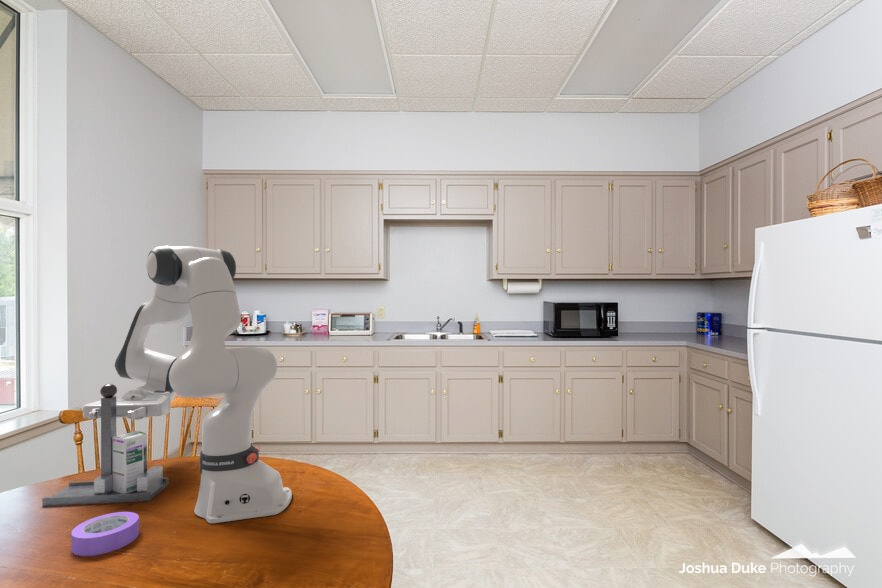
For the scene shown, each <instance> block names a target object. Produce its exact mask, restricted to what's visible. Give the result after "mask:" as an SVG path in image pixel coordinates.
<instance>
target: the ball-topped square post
mask: <svg viewBox="0 0 882 588" xmlns="http://www.w3.org/2000/svg"><path fill="white" fill-rule="evenodd" d="M117 392H118V388H117V386H116V385H114V384H113V383H107V384H105V385H102V387H101V388H100V391H99V393H100V395H101V398H100V401H101V418H100V475H99V476H97V477H96V478H95V479H93V481H94V495H106V494H109V493H110V492H112V491H113V468H112V437H114V436H117V417H116V399H117V395H116V394H117Z"/></svg>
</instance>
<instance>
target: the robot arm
mask: <svg viewBox="0 0 882 588" xmlns="http://www.w3.org/2000/svg"><path fill="white" fill-rule="evenodd" d="M145 265H146V267H145V268H146V271H147V276H148V278H149V279H150V280H151V281H152V282H153V283H155V284H154V289H153V294H152V297H151V298H150V300H149V301H145V302H143V303H142V304H141V305H140V306H139V307H138V308H137V311H136V312H135V315H134V317H133V319H132V321H131V324H130V327H129V328H128V329H129V330H128V332H127V335H126V337H125V340H124V343H123V345H122V348H121V350H120V351H119V353H118V355H117V357H116V359H115V362H114V368H115V370H116V372H117V375H118V376H119V377H120V378H124V379H130V380H136V381H139V382H143V383H145V384H144V385H142V386H138V387H135V388H134V389H131V390H128V391H126V393H124V394H123V396H122V397H121V399H119V398H118V399H117V398H116V418H127V419H130V420H133V421H137V420H143V419H145V418H146V419H147V418H149V417H161V416H164V415H168V414H170V413H171V407H172V406H171V404H172V402H173V401H174V399H175V398H176V396H179V397H180V398H190V399H191V398H192V399H193V398H194V399H197V398H198V399H200V398H202V399H203V398H209V397H215V396H219V395H223V396H222V398H221V399H220V402H219V403H218V405H217V406H216V407H214V408H213V409H212V410H210V411H209V412H208V413H207V414H206V415H205V416H204V418H203V421H202V425H201V450H200V453H199V461H198V462H199V463H198V464H199V474H200V483H199V484H200V485H199V490H198V494H197V495H198V496H197V499H196V500H197V501H196V503H195V507H194V512H193V513H194V514H195V515H197V516H198V517H200V518H202V519H205V520H206V522H207V523H209V524H218V523H219V524H220V523H224V522H225V523H226V522H231V521H232V522H233V521H238V520H239V521H240V520H246V519H252V518H262V517H268V516H275V515H278V514H280V513H282V512H283V511H284V510H285V509H286V508H287V507H288V506H289V504H290V503H291V501H292V498H293V494H292V493H293V492H292V489H291V488H289V487H287V486H284V485H283V480H282V476H281V474H280V472H279V471H278V470H276V469H274V468H273V467H272V466H270V465H268V464H266V463H265V462H263V461H262V460H260V459H259V458H260V448H261V447H260V446H258V447H255V446H254V445H252V443H251V439H252V421H253V420H252V419H253V415H254V413H253V412H254V409H255V407H256V404H257V401H258V400H259V397H260V396H261V394H262V393H263V391H264V390H265V388H266V387H268V385H269V384H270V383H271V382H272V381H273V380H274V378H275V376H276V374H277V372H278V371H277V370H278V364H277V363H278V362H277V359H276V357H275V355H274V353H273V352H272V351H271V350H270V349H268V348H263V347H258V346H257V347H255V346H247V347H246V346H245V347H233V348H226V344H225V343H226V342H225V340H226V338H227V337H228V336H230V335H232V334H233V333H234V332H235V331H237V329H238V328H239V327H240V325H241V322H242V317H241V312H240V307H239V306H240V305H239V301H238V297H237V293H236V287H235V283H234V281H233V280H234V278H235V276H236V273H237V265H236V261H235V258H234V256H233V255H232V254H231V253H230V252H229V251H227V250H223V249H219V248H216V249H212V248H207V247H206V248H205V247H197V246H194V245H193V246H192V245H185V246H184V245H178V246H170V245H160V246H155V247H154V248H152V250H150V251H149V252H148V256H147V259H146V263H145ZM190 316H191V323H192V333H191V336H190V337H191V338H190V340H189V341H190V342H189V344H188V345H187V347H186V349H185V350H184V352H183V353H182V354H180V356H178V357H177V356H173V355H170V354H167V353H162V352H159V351H156V350H152V349H149V348H147V346H145V341H146V338H147V336H148V334H149V331H150V328H151V327H152V326H154V325H170V324H176V323H180V322H182V321H184V320H186V319H187V318H189V317H190ZM82 417H83V418H84V419H88V420H96V419H101V400H96V401H93V402H89V403H87V404H84V405H83V406H82Z"/></svg>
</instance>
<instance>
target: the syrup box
mask: <svg viewBox="0 0 882 588" xmlns="http://www.w3.org/2000/svg"><path fill="white" fill-rule="evenodd" d="M112 468H113V491H115V492H117V493H120V494H126V493H131V492H133V491H136V490H137V477H139V476H140V475H142V474H143V473H144V472H146V471H147V470H148V434H147V433H146V432H143V431H139V430H133V431H131V432H127V433H123V434H118V435H116V436H114V437H112Z"/></svg>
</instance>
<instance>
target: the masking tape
mask: <svg viewBox="0 0 882 588" xmlns="http://www.w3.org/2000/svg"><path fill="white" fill-rule="evenodd" d="M139 535H140V516H139V514H138V513H136V512H132V511H118V512H117V511H116V512H112V513H106V514H102V515H99V516H95V517H93V518H90V519H87V520H85V521H83V522H81V523H80V524H78V525H76V526H75V527H74V528H73V529H72V530H71V537H70V538H71V540H70V541H71V542H70V543H71V544H70V547H71V548H70V550H71V551H70V552H71V553H72V554H73V553H74V554H73V555H75V556H78V555H79V557H93V556H99V555H104V554H108V553H111V552H114V551H117V550H119V549H122V548H123V547H126V546H128V545H129V544H131V543H132V542H134V541H135V540H136V539H138V537H139Z"/></svg>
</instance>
